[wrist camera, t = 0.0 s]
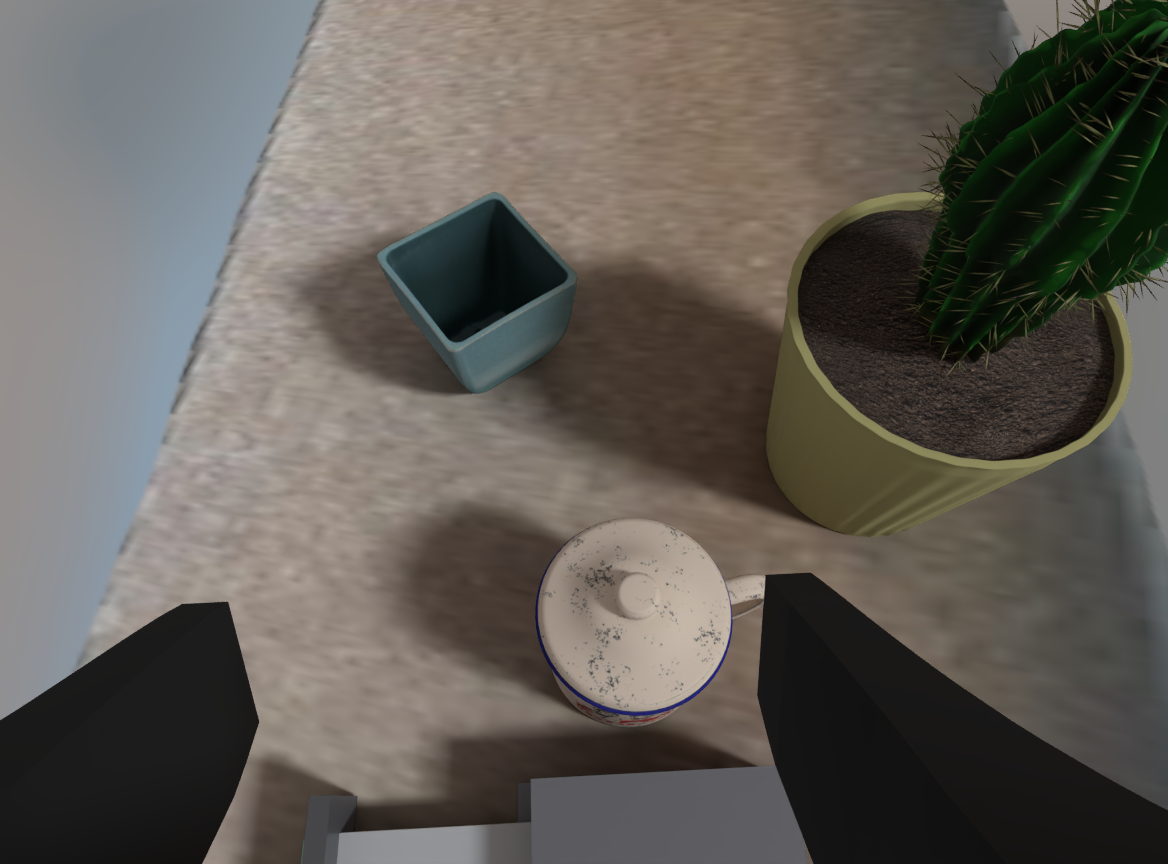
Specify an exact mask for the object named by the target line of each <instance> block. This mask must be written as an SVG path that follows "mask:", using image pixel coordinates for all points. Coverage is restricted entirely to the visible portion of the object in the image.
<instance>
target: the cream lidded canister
mask: <svg viewBox="0 0 1168 864" xmlns="http://www.w3.org/2000/svg"><path fill="white" fill-rule="evenodd" d="M764 590H765V576H764V575H761V574H748V575H742V576H737V577H733V578H729V579H726V580H724V578H723V576H722V574H721V572H720V571H719V569H718V567H717V566H716V564H715V562H714V561H713V560H712V558H711V557H710V556H709V555H708V553H707V552H706V551H705V550H704V549H703V548H702V547H701V546H700V545H699V544H698V543H697V542H695V541H694V540H693V539H692V538H690V537H689V536H688V535H686V534H685V533H683V532H681V531H680V530H678V529H676V528H674V527H672V526H670V525H667V524H664V523H661V522H658V521H654V520H649V519H643V518H621V519H614V520H609V521H605V522H602V523H599V524H596V525H594V526H592V527H589V528H587V529H586V530H584V531H582V532H580V533H579V534H577V535H576V536H574V537H573V538H572V539H571V540H569V541H568V542H567V543H566V544H565V545H564V546H563V547H562V548H561V549H560V550H559V551H558V552H557V554H556V555H555V556H554V558H553V559H552V561H551V562H550V564H549V565H548V567H547V569H546V571H545V573H544V575H543V578H542V580H541V583H540V586H539V590H538V594H537V600H536V615H535V618H536V628H537V634H538V638H539V642H540V645H541V648H542V651H543V653H544V656H545V658H546V660H547V662H548V664H549V665H550V667H551V669H552V671H553V674H554V677H555V679H556V681H557V683H558V685H559V687H560V689H561V690H562V692H563V693H564V695H565V696H566V697H567V699H568V700H569V701H570V702H571V703H572V704H573V705H574V706H575V707H576V708H577V709H578V710H580V711H581V712H582V713H584V714H585V715H587V716H588V717H590V718H592V719H594V720H596V721H599V722H601V723H604V724H607V725H611V726H616V727H639V726H644V725H648V724H651V723H654V722H657V721H659V720H661V719H663V718H665V717H666V716H668V715H670V714H671V713H672V712H674V711H675V710H676V709H677V708H678V707H679V706H680V705H682V704H684V703H686V702H687V701H689V700H691V699H692V698H693V697H695V696H696V695H697V694H699V693H700V692H701V691H702V690H703V689H704V688H705V687H706V686H707V685H708V684H709V682H710V681H711V680H712V679H713V678H714V676H715V675H716V673H717V672H718V670H719V668H720V667H721V665H722V663H723V661H724V658H725V656H726V653H727V650H728V647H729V644H730V639H731V634H732V619H734V618H737V617H740V616H742V615H745V614H747V613H749V612H751V611H753V610H755V609H757V608H759V607H760V606H762V605H764Z"/></svg>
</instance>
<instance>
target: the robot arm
mask: <svg viewBox="0 0 1168 864" xmlns="http://www.w3.org/2000/svg"><path fill="white" fill-rule="evenodd" d="M757 696H758V700H759V704H760V708H761V712H762V716H763V720H764V724H765V728H766V732H767V736H768V740H769V743H770V747H771V751H772V754H773V758H774V762H775V765H776V768H777V771H778V774H779V776H780V779H781V782H782V784H783V787H784V789H785V792H786V795H787V797H788V800H789V802H790V805H791V807H792V810H793V813H794V815H795V818H796V820H797V823H798V825H799V828H800V831H801V833H802V836H803V838H804V841H805V843H806V846H807V848H808V851H809V853H810V856H811V858H812V861H813V863H814V864H1168V810H1166V809H1164V808H1162V807H1160V806H1158V805H1156V804H1154V803H1152V802H1150V801H1148V800H1147V799H1145V798H1143V797H1141V796H1139V795H1137V794H1135V793H1134V792H1132V791H1130V790H1128V789H1126V788H1124V787H1123V786H1121V785H1119V784H1117V783H1115V782H1113V781H1112V780H1110V779H1108V778H1106V777H1105V776H1103V775H1101V774H1099V773H1098V772H1096V771H1094V770H1093V769H1091V768H1089V767H1087V766H1086V765H1084V764H1082V763H1081V762H1079V761H1077V760H1075V759H1074V758H1072V757H1070V756H1069V755H1067V754H1065V753H1064V752H1062V751H1060V750H1058V749H1057V748H1055V747H1053V746H1052V745H1050V744H1048V743H1046V742H1045V741H1043V740H1041V739H1040V738H1038V737H1037V736H1035V735H1033V734H1032V733H1030V732H1029V731H1027V730H1025V729H1024V728H1022V727H1021V726H1019V725H1017V724H1016V723H1014V722H1013V721H1011V720H1010V719H1008V718H1007V717H1005V716H1004V715H1002V714H1001V713H999V712H998V711H996V710H995V709H993V708H992V707H990V706H989V705H987V704H986V703H984V702H983V701H981V700H980V699H978V698H977V697H976V696H974V695H973V694H971V693H970V692H968V691H967V690H965V689H964V688H962V687H961V686H959V685H958V684H956V683H955V682H954V681H952V680H951V679H949V678H948V677H947V676H945V675H944V674H942V673H941V672H940V671H938V670H937V669H935V668H934V667H933V666H931V665H930V664H929V663H927V662H926V661H925V660H923V659H922V658H920V657H919V656H918V655H916V654H915V653H914V652H912V651H911V650H910V649H909V648H907V647H906V646H905V645H903V644H902V643H901V642H899V641H898V640H897V639H895V638H894V637H893V636H891V635H890V634H889V633H888V632H886V631H885V630H884V629H882V628H881V627H880V626H879V625H877V624H876V623H875V622H873V621H872V620H871V619H870V618H868V617H867V616H866V615H865V614H863V613H862V612H861V611H859V610H858V609H857V608H856V607H854V606H853V605H852V604H851V603H849V602H848V601H847V600H846V599H844V598H843V597H842V596H841V595H839V594H838V593H837V592H835V591H834V590H833V589H832V588H830V587H829V586H828V585H826V584H825V583H824V582H823V581H821V580H820V579H818V578H817V577H816V576H814V575H813V574H812V573H795V574H775V575H765V590H764V605H763V619H762V634H761V649H760V664H759V678H758V693H757ZM258 724H259V719H258V715H257V711H256V708H255V704H254V700H253V696H252V692H251V688H250V684H249V681H248V677H247V673H246V669H245V665H244V661H243V657H242V654H241V650H240V646H239V642H238V638H237V634H236V631H235V627H234V623H233V619H232V615H231V611H230V607H229V604H228V602H214V603H194V604H181V605H180V606H178V607H176V608H174V609H172V610H171V611H169V612H167V613H165V614H163V615H162V616H160V617H158V618H157V619H155V620H154V621H152V622H150V623H149V624H147V625H146V626H144V627H142V628H141V629H139V630H138V631H136V632H135V633H133V634H132V635H130V636H128V637H127V638H125V639H124V640H122V641H121V642H119V643H118V644H116V645H115V646H113V647H112V648H110V649H109V650H107V651H106V652H104V653H103V654H101V655H100V656H98V657H97V658H95V659H94V660H92V661H91V662H89V663H88V664H86V665H85V666H83V667H82V668H80V669H79V670H77V671H75V672H74V673H72V674H71V675H69V676H68V677H66V678H65V679H63V680H62V681H60V682H59V683H57V684H56V685H54V686H53V687H51V688H50V689H48V690H47V691H45V692H44V693H42V694H41V695H39V696H38V697H36V698H35V699H33V700H32V701H30V702H28V703H27V704H25V705H24V706H22V707H21V708H19V709H18V710H16V711H15V712H13V713H11V714H10V715H8V716H7V717H5V718H3V719H2V720H0V864H202V863H203V861H204V859H205V857H206V855H207V853H208V850H209V848H210V846H211V844H212V842H213V840H214V838H215V836H216V834H217V832H218V830H219V828H220V825H221V823H222V821H223V819H224V817H225V815H226V813H227V811H228V809H229V806H230V804H231V802H232V800H233V798H234V795H235V793H236V790H237V787H238V784H239V781H240V779H241V776H242V773H243V770H244V767H245V765H246V762H247V759H248V755H249V752H250V749H251V746H252V743H253V740H254V737H255V733H256V730H257V727H258Z"/></svg>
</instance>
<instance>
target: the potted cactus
mask: <svg viewBox="0 0 1168 864" xmlns="http://www.w3.org/2000/svg"><path fill="white" fill-rule="evenodd" d="M1056 1H1057V0H1056ZM1074 1H1075V2H1076V3H1077V4H1078V5H1079V6H1080V7H1081V8H1082V9H1084V8H1083V7H1082V5H1080V4H1079V3H1078V2H1077V1H1076V0H1074ZM1083 1H1084V3H1085V4H1086V8H1087V11H1086V10H1085V9H1084V10H1085V11H1086V12H1087V13H1088V16H1089V15H1090V11H1089V9H1090V10H1091V11H1092V12H1093V13H1094V16H1093V17H1092V16H1091V15H1090V18H1091V17H1092V18H1091V19H1090V18H1088V17H1087V16H1086V15H1085V14H1084V13H1083V12H1081V11H1080V10H1079V9H1077V8H1076V7H1075V6H1074V5H1073V6H1074V7H1075V8H1076V9H1077V10H1078V11H1079V12H1081V15H1079V14H1075V13H1072V12H1070V13H1072V14H1075V15H1077V16H1080V17H1082V18H1083V19H1084V21H1085V19H1088V20H1089V21H1087V22H1086V21H1085V23H1084V24H1083V25H1082V26H1081V27H1079V26H1076V25H1070V24H1066V25H1068V26H1072V27H1075V28H1079V29H1078V30H1073V29H1064V30H1061V31H1060V32H1059V33H1058V34H1056V35H1055V36H1054V37H1053V38H1051V37H1050V36H1049V35H1047V34H1046V33H1045V32H1044V31H1043V32H1044V33H1045V34H1046V35H1047V36H1048V37H1049V38H1050V39H1048V40H1046V41H1044V42H1042V43H1041V44H1040V45H1039V46H1038V47H1036V48H1035V49H1033V50H1032V48H1033V46H1034V44H1033V46H1032V48H1031V50H1030V51H1026V52H1024V53H1022V54H1021V55H1020V52H1019V53H1018V51H1017V49H1016V47H1015V45H1014V47H1015V49H1016V52H1017V54H1018V58H1017V60H1016V61H1015V62H1014V64H1013V65H1012V66H1011V67H1010V68H1008V69H1007V70H1006V71H1005V70H1004V69H1003V70H1004V72H1003V74H1002V75H1001V77H1000V80H999V82H998V84H997V82H996V80H995V82H996V85H997V87H996V89H995V90H994V91H992V92H988V91H986V90H983V89H980V88H977V87H975V88H977V89H979V90H980V91H981V90H982V92H983V91H984V92H987V93H988V94H986V93H984V92H983V93H984V94H985V96H983V95H982V94H981V93H980V92H978V91H977V90H976V89H975V88H974V86H971V85H970V84H969V83H967V82H966V81H965V80H963V79H962V78H961V77H960V78H961V79H962V80H963V81H964V82H965V83H967V84H968V85H969V86H970V87H971V88H973V89H974V90H975V91H977V92H978V93H979V94H981V95H982V96H983V99H982V102H981V106H980V111H979V112H978V110H977V109H976V107H975V106H974V107H975V109H976V111H977V112H976V111H975V110H974V113H976V115H977V116H978V117H977V118H976V119H974V120H973V121H970V122H968V123H966V124H964V125H963V126H962V125H961V124H960V123H959V122H958V121H957V120H956V119H955V118H954V117H953V116H952V115H951V114H950V113H949V112H948V111H947V112H948V113H949V114H950V115H951V116H952V117H953V118H954V119H955V120H956V121H957V122H958V123H959V124H960V125H961V126H962V127H961V129H960V128H959V129H960V133H959V138H958V139H959V140H958V139H956V137H955V138H954V136H955V135H956V134H955V135H954V136H953V135H952V134H951V132H950V129H949V127H948V128H947V127H946V128H947V129H949V130H948V131H949V133H950V136H951V138H948V137H949V136H948V135H947V136H948V137H943V136H942V137H940V136H938V137H936V136H935V134H934V133H933V132H932V133H933V134H934V136H933V135H932V136H928V137H933V138H936V139H937V140H938V141H939V143H940V144H941V146H942V147H943V148H944V149H945V150H946V151H947V149H946V148H945V146H944V145H943V144H942V143H941V141H940V140H939V139H944V140H950V141H951V140H952V141H951V142H952V144H953V145H954V147H953V148H952V146H951V145H950V144H949V143H948V142H947V141H946V142H947V143H948V144H949V145H950V146H951V148H952V150H950V148H949V146H948V144H947V146H948V149H949V151H950V153H951V155H950V153H949V151H947V153H948V154H949V155H950V156H951V157H950V158H949V159H947V162H946V165H944V162H943V160H942V158H941V157H943V156H941V155H940V154H939V153H936V152H935V151H933V150H931V149H929V148H927V147H925V146H923V145H922V146H923V147H925V148H927V149H929V150H930V151H932V152H934V153H935V154H937V155H939V156H941V157H940V158H941V161H942V163H943V165H944V166H940V167H939V165H938V164H937V163H936V162H935V161H934V159H933V158H932V157H931V156H930V157H931V158H932V159H933V161H934V162H935V163H936V165H937V166H938V167H936V168H933V167H932V168H933V169H931V170H934V169H935V170H936V169H938V168H940V170H941V167H945V166H946V167H945V169H944V171H942V170H941V171H942V173H941V172H940V173H941V174H940V176H939V180H938V181H939V182H936V181H935V182H931V184H930V183H928V184H925V185H930V186H931V185H932V184H936V183H938V184H939V185H938V186H939V187H938V186H937V187H934V189H937V188H940V187H943V190H944V192H943V190H942V191H941V190H940V189H941V188H940V189H937V191H938V190H939V191H940V192H939V193H937V191H936V192H935V193H932V192H929V191H926V190H924V191H926V192H915V193H899V194H892V195H887V196H883V197H878V198H873V199H869V200H866V201H864V202H861V203H859V204H857V205H854V206H852V207H849V208H847V209H845V210H843V211H841V212H840V213H838V214H837V215H835V216H834V217H832V218H831V219H829V220H828V221H826V222H825V223H823V224H822V225H821V226H820V227H819V228H818V229H817V230H816V232H815V233H814V234H813V235H812V236H811V237H810V238H809V239H808V240H807V241H806V243H805V244H804V246H803V248H802V249H801V251H800V253H799V255H798V257H797V258H796V260H795V262H794V265H793V268H792V272H791V277H790V280H789V284H788V289H787V298H788V302H787V306H786V312H785V319H784V326H783V332H782V339H781V345H780V352H779V358H778V364H777V370H776V376H775V383H774V389H773V395H772V401H771V407H770V413H769V419H768V426H767V432H766V437H767V440H766V451H767V457H768V462H769V466H770V469H771V472H772V474H773V476H774V479H775V481H776V483H777V484H778V486H779V488H780V489H781V491H782V492H783V493H784V495H785V496H786V497H787V499H788V500H789V501H790V502H791V503H792V504H793V505H794V506H795V507H796V508H797V509H798V510H799V511H801V512H802V513H803V514H805V515H806V516H807V517H809V518H810V519H812V520H813V521H815V522H817V523H819V524H821V525H823V526H825V527H827V528H829V529H831V530H834V531H837V532H841V533H844V534H848V535H854V536H863V537H874V536H885V535H890V534H893V533H896V532H900V531H905V530H907V529H909V528H911V527H914V526H916V525H918V524H920V523H922V522H925V521H927V520H929V519H931V518H933V517H935V516H938V515H940V514H942V513H944V512H946V511H949V510H951V509H953V508H955V507H957V506H960V505H962V504H964V503H966V502H968V501H970V500H973V499H975V498H977V497H979V496H981V495H984V494H986V493H988V492H990V491H992V490H995V489H997V488H999V487H1001V486H1004V485H1006V484H1008V483H1010V482H1012V481H1015V480H1017V479H1019V478H1021V477H1024V476H1026V475H1028V474H1030V473H1033V472H1035V471H1037V470H1040V469H1042V468H1044V467H1046V466H1048V465H1049V464H1051V463H1053V462H1054V461H1056V460H1059V459H1061V458H1064V457H1066V456H1068V455H1069V454H1071V453H1073V452H1075V451H1076V450H1078V449H1080V448H1082V447H1084V446H1086V445H1088V444H1089V443H1091V442H1092V441H1093V440H1094V439H1095V438H1096V437H1097V436H1098V435H1099V434H1100V433H1101V432H1103V431H1104V430H1105V429H1106V428H1107V427H1108V426H1109V425H1110V424H1111V423H1112V421H1113V420H1114V418H1115V417H1116V415H1117V413H1118V411H1119V410H1120V408H1121V407H1122V405H1123V403H1124V401H1125V399H1126V396H1127V392H1128V388H1129V385H1130V381H1131V377H1132V345H1131V340H1130V337H1129V333H1128V329H1127V325H1126V322H1125V319H1124V316H1123V314H1122V312H1121V310H1120V308H1119V306H1118V304H1117V303H1116V300H1115V298H1114V297H1115V296H1113V295H1112V293H1111V290H1112V289H1113V288H1114V287H1115V286H1121V285H1124V284H1128V286H1127V296H1126V299H1127V300H1126V306H1127V309H1128V299H1129V286H1130V287H1131V289H1132V290H1133V291H1134V293H1135V294H1136V292H1135V282H1140V285H1141V282H1142V283H1143V280H1144V279H1147V280H1149V281H1151V282H1153V283H1155V282H1154V281H1152V280H1151V279H1154V280H1158V281H1164V280H1161V279H1157V278H1152V277H1147V275H1148V274H1149V276H1150V272H1151V271H1152V270H1155V269H1157V268H1159V270H1160V272H1161V269H1160V267H1161V266H1162V267H1163V265H1164V264H1165V263H1168V262H1166V260H1167V258H1168V257H1167V256H1168V0H1116V1H1114V2H1113V0H1112V4H1110V6H1109V7H1108V8H1106V9H1104V10H1101V11H1099V10H1098V9H1099V2H1100V0H1094V3H1095V9H1093V8H1092V7H1091V6H1090V5H1089V4H1088V3H1087V0H1083ZM1056 4H1057V28H1058V3H1056ZM1096 6H1097V8H1096ZM1082 14H1083V15H1084V16H1082ZM1062 24H1065V23H1062ZM1035 41H1036V39H1035V37H1034V43H1035ZM1012 42H1013V41H1012ZM1013 44H1014V43H1013ZM989 52H990V51H989ZM990 53H991V52H990ZM991 54H992V53H991ZM992 56H993V55H992ZM993 57H994V56H993ZM994 59H995V60H996V61H997V59H996V58H995V57H994ZM997 63H998V64H999V65H1000V63H999V62H998V61H997ZM1000 66H1001V65H1000ZM1001 67H1002V66H1001ZM1002 68H1003V67H1002ZM956 75H957V74H956ZM957 76H958V75H957ZM994 79H995V77H994ZM972 103H973V102H972ZM973 105H974V104H973ZM971 106H972V105H971ZM973 109H974V108H973ZM977 113H978V114H977ZM973 118H974V116H973ZM946 123H947V122H946ZM947 126H948V124H947ZM958 127H959V126H958ZM929 129H930V128H929ZM946 134H947V133H946ZM953 134H954V133H953ZM922 136H925V135H922ZM954 141H956V143H957V144H956V145H955V142H954ZM918 144H919V143H918ZM920 145H921V144H920ZM936 150H937V149H936ZM937 152H938V151H937ZM943 158H945V157H943ZM945 159H946V158H945ZM925 164H926V163H925ZM927 165H928V164H927ZM929 166H930V165H929ZM930 167H931V166H930ZM927 171H930V170H927ZM937 171H938V170H937ZM924 172H926V171H924ZM938 172H939V171H938ZM921 173H922V172H921ZM925 185H922V186H925ZM940 185H942V186H940ZM932 187H933V186H932ZM934 189H933V190H934ZM921 190H923V189H921ZM933 190H931V191H933ZM941 192H942V193H943V194H942V193H941ZM944 193H945V194H944ZM1164 269H1166V268H1164ZM1166 270H1167V269H1166ZM1167 271H1168V270H1167ZM1161 273H1162V272H1161ZM1149 278H1150V279H1149ZM1164 282H1168V281H1164ZM1130 283H1134V289H1133V287H1132V286H1131V285H1130ZM1143 284H1144V285H1145V286H1146V287H1147V285H1146V284H1145V283H1143ZM1155 284H1157V283H1155ZM1157 285H1159V284H1157ZM1159 286H1160V285H1159ZM1121 288H1122V286H1121ZM1147 288H1148V287H1147ZM1120 290H1121V289H1120ZM1122 290H1123V288H1122ZM1148 290H1149V288H1148ZM1123 291H1124V290H1123ZM1141 291H1142V286H1141ZM1149 291H1150V290H1149ZM1124 293H1125V292H1124ZM1150 293H1151V294H1152V292H1151V291H1150ZM1136 295H1137V294H1136ZM1121 296H1122V293H1121ZM1153 296H1154V295H1153ZM1137 297H1138V296H1137ZM1127 311H1128V310H1127Z"/></svg>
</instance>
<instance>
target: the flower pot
mask: <svg viewBox="0 0 1168 864" xmlns="http://www.w3.org/2000/svg"><path fill="white" fill-rule="evenodd" d="M376 258H377V261H378V263H379V264H380V266H381V268H382V270H383V272H384V274H385V276H386V277H387V279H388V281H389V283H390V285H391V287H392V289H393V291H394V292H395V294H396V296H397V298H398V299H399V301H400V303H401V305H402V306H403V308H404V310H405V311H406V313H407V314H408V315H409V317H410V318H411V319H412V321H413V322H414V323H415V324H416V326H417V327H418V328H419V329H420V331H421V332H422V333H423V334H424V336H425V337H426V338H427V340H428V341H429V342H430V344H431V345H432V346H433V347H434V349H435V350H436V351H437V353H438V354H439V355H440V356H441V358H442V359H443V360H444V362H445V363H446V364H447V366H448V367H449V368H450V369H451V371H452V372H453V373H454V375H455V376H456V377H457V379H458V380H459V381H460V383H461V384H462V385H463V386H464V387H465V388H466V389H467V390H468V391H470V392H472V393H484V392H486V391H488V390H490V389H492V388H493V387H495V386H497V385H498V384H500V383H502V382H503V381H505V380H506V379H508V378H510V377H511V376H513V375H514V374H516V373H518V372H519V371H521V370H523V369H525V368H526V367H528V366H530V365H531V364H533V363H535V362H536V361H538V360H539V359H540V358H542V357H543V356H544V355H546V354H547V353H548V352H549V351H551V350H552V349H553V348H554V347H555V346H556V345H557V343H558V342H559V341H560V340H561V338H562V337H563V335H564V333H565V331H566V329H567V326H568V324H569V320H570V316H571V311H572V306H573V301H574V296H575V290H576V285H577V280H578V276H577V274H576V273H575V272H574V271H573V269H572V268H571V267H570V266H569V265H568V264H567V263H566V262H565V261H564V260H563V259H562V258H561V257H560V256H559V255H558V254H557V253H556V252H555V251H554V250H553V249H552V248H551V247H550V245H549V244H548V243H547V242H546V241H545V240H544V239H543V238H542V237H541V236H540V235H539V234H538V233H537V232H536V231H535V230H534V229H533V228H532V227H531V226H530V225H529V224H528V222H527V221H526V220H525V219H524V218H523V217H522V216H521V215H520V213H519V212H518V211H517V210H516V209H515V208H514V207H513V206H512V205H511V203H510V202H509V201H508V200H507V199H506V198H505V197H504V196H503V195H501V194H500V193H497V192H492V193H490V194H487V195H485V196H483V197H481V198H479V199H477V200H475V201H474V202H472V203H470V204H468V205H466V206H465V207H463V208H461V209H459V210H457V211H455V212H453V213H451V214H449V215H447V216H445V217H444V218H442V219H440V220H438V221H436V222H434V223H432V224H430V225H428V226H426V227H424V228H422V229H421V230H418V231H416V232H414V233H412V234H410V235H409V236H407V237H405V238H403V239H401V240H399V241H397V242H395V243H393V244H391V245H389V246H387V247H386V248H384V249H383V250H381V251H380V252H379V253H377V255H376Z"/></svg>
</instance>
